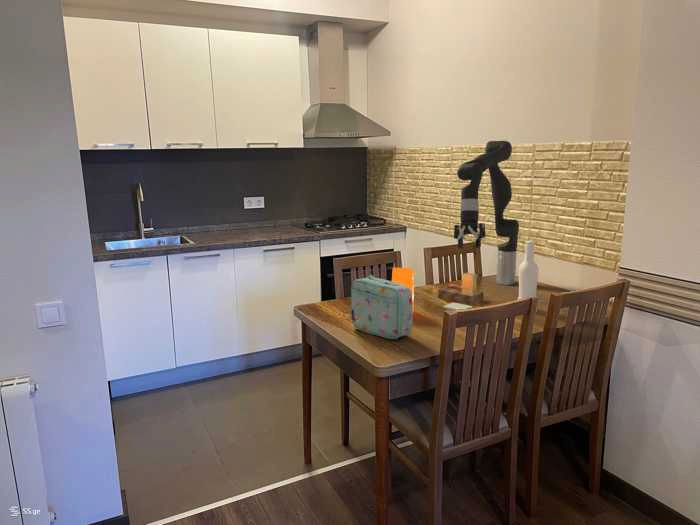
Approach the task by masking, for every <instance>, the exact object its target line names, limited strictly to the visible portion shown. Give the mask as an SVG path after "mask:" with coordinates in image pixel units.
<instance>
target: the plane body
mask: <svg viewBox="0 0 700 525" xmlns="http://www.w3.org/2000/svg"><path fill="white" fill-rule="evenodd" d="M437 297H438V299H441V300H446V301H451V302H454V303H459V304H464V305H469V306H474V305H476V304H478V303H480V302H482V301H484V291H483V290H478V289H476V295H474V296H468V295H463V294H462V285H459V284H453V283H450V282H448V283H446V286H445V287H442V288H440V289H438V292H437ZM481 300H482V301H481ZM479 301H480V302H479ZM477 302H478V303H477ZM475 303H476V304H475ZM473 304H474V305H473Z"/></svg>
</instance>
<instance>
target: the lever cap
mask: <svg viewBox="0 0 700 525" xmlns="http://www.w3.org/2000/svg"><path fill="white" fill-rule="evenodd" d="M477 276H478V275H477V273H472V272H471V273H470V272H464V273H461V286H462V294H463V295H468V296H474V295H476V290H477V278H478V277H477Z"/></svg>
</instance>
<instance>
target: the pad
mask: <svg viewBox="0 0 700 525" xmlns="http://www.w3.org/2000/svg"><path fill="white" fill-rule="evenodd" d="M473 306H474V305H469V304H464V303H459V302H455V301H451V303H448V304H445V305H443V306H442V308H443V309H449V310H453V311H456V310H459V309H467V308H471V309H473Z"/></svg>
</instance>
